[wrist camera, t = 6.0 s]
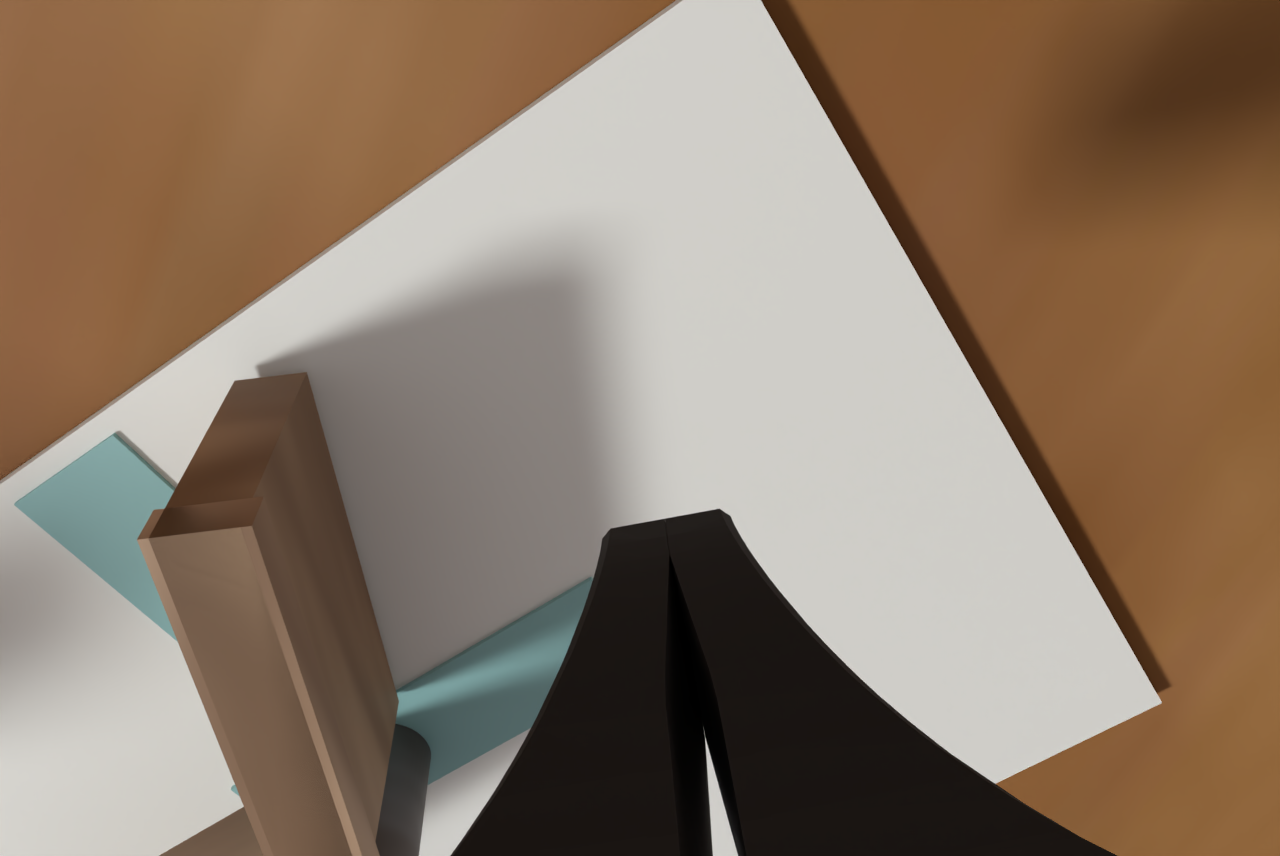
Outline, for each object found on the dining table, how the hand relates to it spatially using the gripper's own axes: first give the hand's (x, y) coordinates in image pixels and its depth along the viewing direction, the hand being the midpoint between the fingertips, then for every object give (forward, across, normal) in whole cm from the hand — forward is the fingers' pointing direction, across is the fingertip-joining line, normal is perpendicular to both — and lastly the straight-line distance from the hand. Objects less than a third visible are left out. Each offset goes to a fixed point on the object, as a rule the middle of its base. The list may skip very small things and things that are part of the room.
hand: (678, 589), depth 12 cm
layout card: (+8, +5, +8) cm, 12 cm away
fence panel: (+7, +6, +3) cm, 10 cm away
